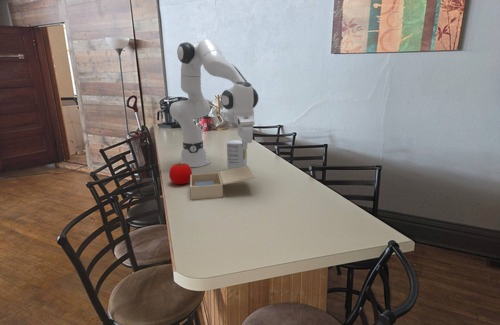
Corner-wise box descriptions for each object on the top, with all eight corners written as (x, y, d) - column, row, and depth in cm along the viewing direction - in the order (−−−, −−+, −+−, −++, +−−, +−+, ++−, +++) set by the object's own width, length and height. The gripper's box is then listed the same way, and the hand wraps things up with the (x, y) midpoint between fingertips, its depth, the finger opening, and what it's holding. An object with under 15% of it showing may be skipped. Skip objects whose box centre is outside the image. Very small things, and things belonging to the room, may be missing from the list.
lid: (247, 165, 161) (247, 166, 161) (219, 171, 159) (220, 172, 160) (254, 176, 144) (254, 178, 144) (223, 183, 142) (223, 184, 143)
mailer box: (191, 186, 159) (190, 174, 157) (219, 183, 161) (218, 172, 159) (191, 199, 142) (190, 187, 140) (222, 197, 144) (222, 184, 142)
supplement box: (243, 173, 177) (242, 143, 172) (227, 172, 178) (226, 143, 174) (247, 168, 186) (246, 140, 181) (231, 167, 187) (230, 139, 183)
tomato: (170, 188, 157) (168, 167, 154) (169, 180, 168) (167, 161, 165) (193, 185, 159) (192, 165, 157) (191, 178, 171) (189, 159, 168)
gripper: (234, 115, 154) (235, 143, 158) (240, 122, 135) (241, 154, 139) (247, 115, 156) (247, 143, 159) (255, 121, 136) (255, 153, 140)
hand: (244, 148), depth 149 cm, fingers closed
